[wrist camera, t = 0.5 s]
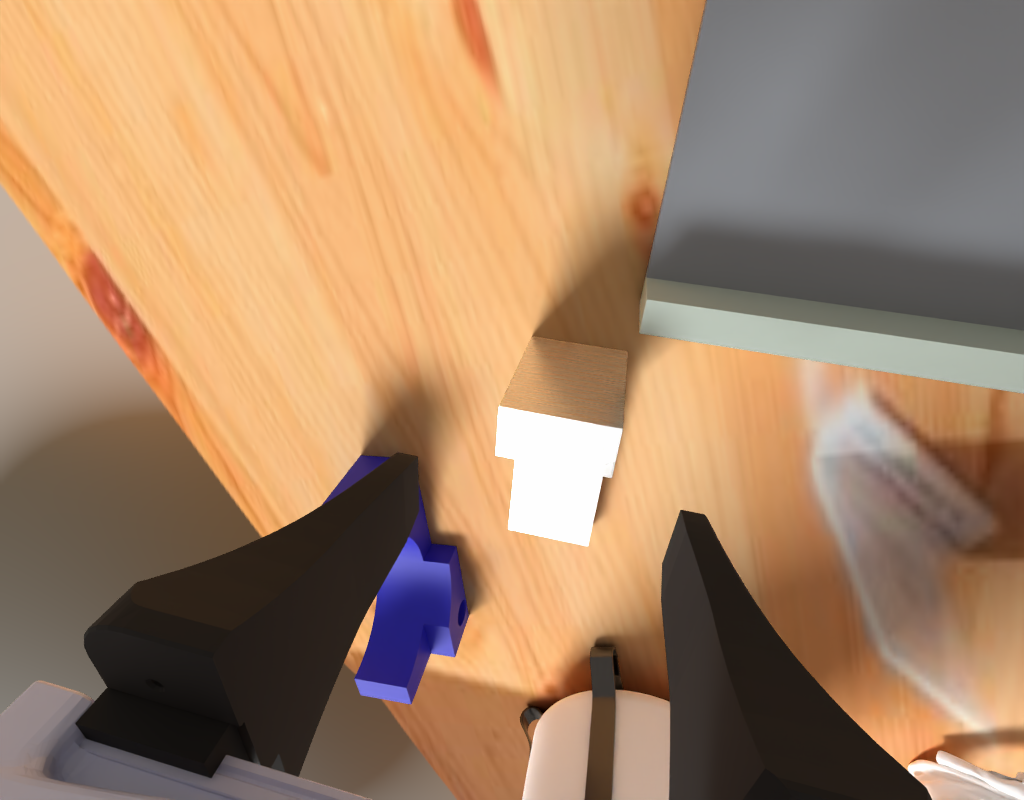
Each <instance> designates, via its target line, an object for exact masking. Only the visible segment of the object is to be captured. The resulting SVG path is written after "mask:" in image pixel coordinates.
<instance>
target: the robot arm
mask: <svg viewBox="0 0 1024 800" xmlns="http://www.w3.org/2000/svg"><path fill="white" fill-rule="evenodd" d="M418 513H419V478H418V457H417V456H412V455H408V454H403V453H396V454H395V455H393V456H392V457H390V458H389V459H388V460H386V461H385V462H383V463H382V464H381V465H379V466H378V467H377V468H375V469H374V470H373V471H371V472H370V473H368V474H367V475H366V476H364V477H363V478H362V479H360V480H359V481H357V482H356V483H355V484H353V485H352V486H350V487H349V488H347V489H346V490H345V491H343V492H342V493H340V494H339V495H337V496H336V497H334V498H333V499H331V500H330V501H328V502H326V503H325V504H323V505H322V506H320V507H318V508H317V509H315V510H314V511H312V512H311V513H309V514H307V515H305V516H304V517H302V518H300V519H298V520H297V521H295V522H293V523H291V524H289V525H287V526H285V527H283V528H281V529H279V530H278V531H276V532H273V533H271V534H269V535H267V536H265V537H263V538H260V539H258V540H256V541H254V542H251V543H249V544H247V545H245V546H243V547H240V548H238V549H236V550H233V551H231V552H228V553H226V554H223V555H221V556H218V557H216V558H213V559H210V560H207V561H205V562H202V563H199V564H196V565H193V566H190V567H187V568H184V569H181V570H178V571H174V572H171V573H167V574H164V575H161V576H157V577H154V578H151V579H148V580H144V581H140V582H137V583H136V584H134V585H133V586H132V587H131V588H130V589H129V590H128V591H127V592H126V593H125V594H124V595H123V596H122V597H121V598H119V599H118V600H117V601H116V602H115V603H114V604H113V605H112V606H111V607H110V608H109V609H108V610H107V611H106V612H105V613H104V614H103V615H102V616H101V617H100V618H99V619H98V620H97V621H96V622H95V623H93V624H92V626H90V627H89V628H88V630H87V631H86V632H85V634H84V647H85V649H86V652H87V654H88V656H89V658H90V659H91V661H92V663H93V664H94V666H95V667H96V669H97V671H98V672H99V674H100V676H101V677H102V679H103V681H104V682H105V684H106V686H107V687H108V688H107V689H106V690H105V691H104V692H103V693H102V694H101V695H100V696H99V698H98V699H97V700H96V701H94V700H93V699H92V698H90V697H88V696H87V695H85V694H83V693H81V692H78V691H75V690H72V689H68V688H65V687H62V686H58V685H55V684H52V683H48V682H45V681H41V680H40V681H35V682H34V683H33V684H32V685H31V686H30V687H29V688H28V689H27V690H25V692H24V693H22V694H21V695H20V696H19V697H18V698H17V699H16V700H15V701H14V702H13V703H12V704H11V705H10V706H9V707H8V708H7V709H6V710H5V711H4V712H3V713H2V714H1V715H0V800H372V799H369V798H365V797H362V796H359V795H356V794H353V793H349V792H346V791H343V790H339V789H336V788H333V787H330V786H326V785H323V784H320V783H317V782H313V781H310V780H307V779H304V778H300V777H299V774H300V771H301V769H302V766H303V763H304V760H305V758H306V755H307V753H308V750H309V747H310V744H311V742H312V739H313V737H314V734H315V731H316V728H317V726H318V724H319V721H320V719H321V716H322V714H323V711H324V708H325V706H326V704H327V701H328V699H329V696H330V694H331V691H332V689H333V687H334V684H335V682H336V679H337V677H338V675H339V672H340V670H341V668H342V665H343V663H344V661H345V658H346V656H347V654H348V651H349V649H350V647H351V645H352V642H353V640H354V638H355V636H356V633H357V631H358V629H359V627H360V625H361V623H362V621H363V619H364V617H365V615H366V613H367V611H368V609H369V607H370V606H371V604H372V602H373V600H374V599H375V597H376V595H377V593H378V592H379V590H380V588H381V586H382V585H383V583H384V581H385V579H386V578H387V576H388V574H389V572H390V571H391V569H392V567H393V565H394V564H395V562H396V560H397V558H398V556H399V555H400V553H401V551H402V549H403V547H404V546H405V544H406V542H407V540H408V537H409V535H410V533H411V530H412V528H413V525H414V523H415V520H416V518H417V515H418ZM661 603H662V615H663V626H664V637H665V647H666V658H667V668H668V679H669V693H670V769H669V800H932V798H931V796H930V794H929V792H928V790H927V788H926V787H925V786H924V785H923V784H922V783H921V782H920V781H918V780H917V779H916V778H915V777H914V776H913V775H912V774H911V773H909V772H908V771H907V770H906V769H905V768H904V767H903V766H902V765H901V764H899V763H898V762H897V761H896V760H895V759H894V758H893V757H892V756H890V755H889V754H888V753H887V752H886V751H885V750H884V749H883V748H882V747H880V746H879V745H878V744H877V743H876V742H875V741H874V740H873V739H872V738H871V737H870V736H869V735H868V734H867V733H866V732H865V731H864V730H863V729H862V728H861V727H860V726H859V725H858V724H857V723H856V722H855V721H854V720H853V719H852V718H851V717H850V716H849V715H848V714H847V713H846V712H845V711H844V710H843V709H842V708H841V707H840V706H839V705H838V704H837V703H836V702H835V701H834V700H833V699H832V698H831V697H830V696H829V694H828V693H827V692H826V691H825V690H824V689H823V688H822V687H821V686H820V684H819V683H818V682H817V681H816V680H815V679H814V678H813V677H812V676H811V674H810V673H809V672H808V671H807V670H806V669H805V668H804V666H803V665H802V664H801V663H800V662H799V661H798V659H797V658H796V657H795V656H794V655H793V653H792V652H791V651H790V649H789V648H788V647H787V646H786V644H785V643H784V642H783V640H782V639H781V638H780V637H779V635H778V634H777V633H776V631H775V630H774V628H773V627H772V626H771V624H770V623H769V621H768V620H767V619H766V617H765V616H764V614H763V613H762V611H761V610H760V608H759V607H758V605H757V604H756V602H755V601H754V599H753V598H752V596H751V595H750V593H749V592H748V590H747V588H746V587H745V585H744V583H743V582H742V580H741V578H740V577H739V575H738V573H737V572H736V570H735V568H734V567H733V565H732V563H731V562H730V560H729V558H728V556H727V554H726V553H725V551H724V549H723V547H722V545H721V543H720V541H719V540H718V538H717V536H716V534H715V532H714V530H713V528H712V526H711V524H710V522H709V520H708V518H707V517H706V516H705V515H704V514H699V513H694V512H689V511H684V510H680V513H679V516H678V519H677V522H676V525H675V528H674V531H673V534H672V537H671V540H670V543H669V546H668V549H667V551H666V554H665V557H664V560H663V563H662V589H661Z"/></svg>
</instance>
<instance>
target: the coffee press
mask: <svg viewBox="0 0 1024 800" xmlns="http://www.w3.org/2000/svg"><path fill="white" fill-rule="evenodd" d="M590 665H591V677H592V690H591V691H585V692H580V693H577V694H573V695H570V696H568V697H565V698H563V699H561V700H559V701H558V702H556V703H555V704H553V705H552V706H551V707H550V708H549V709H548V710H547V711H546V712H545V713H544V714H543V713H542V712H541V711H540V710H539V709H538V708H537V707H534V706H531V707H528V708H526V709H525V710H524V711H523V712H522V714H521V716H520V723H521V726H522V728H523V730H524V732H525V734H526V736H527V738H528V741H529V746H530V755H529V763H528V770H527V776H526V781H525V787H524V793H523V798H522V800H669V769H670V702H669V701H666V700H664V699H661V698H658V697H655V696H651V695H647V694H643V693H638V692H633V691H625V690H624V688H623V685H622V681H621V676H620V669H619V661H618V655H617V651H616V648H615V647H592V648H591V651H590ZM536 719H540V720H539V722H538V724H537V726H536V729H535V733H534V737H533V742H532V740H531V738H530V736H529V734H528V726H529V724H530V723H531V722H532V721H533V720H536Z"/></svg>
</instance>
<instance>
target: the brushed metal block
mask: <svg viewBox="0 0 1024 800" xmlns="http://www.w3.org/2000/svg"><path fill="white" fill-rule="evenodd" d="M627 356H628V351H623V350H617V349H610V348H604V347H598V346H591V345H585V344H579V343H573V342H566V341H560V340H554V339H547V338H541V337H535V336H532V337H531V339H530V341H529V343H528V346H527V348H526V350H525V352H524V354H523V356H522V358H521V361H520V363H519V365H518V367H517V369H516V371H515V373H514V375H513V378H512V380H511V382H510V384H509V386H508V388H507V390H506V393H505V395H504V397H503V399H502V401H501V403H500V405H499V413H498V427H497V441H496V456H501V457H506V458H511V459H515V467H514V477H513V487H512V498H511V508H510V518H509V529H510V530H514V531H519V532H524V533H528V534H533V535H537V536H542V537H547V538H551V539H556V540H560V541H565V542H569V543H574V544H579V545H583V546H588V544H589V539H590V535H591V530H592V525H593V521H594V516H595V512H596V507H597V502H598V498H599V493H600V488H601V484H602V479H603V477H608V478H612V475H613V470H614V466H615V462H616V457H617V453H618V448H619V444H620V440H621V435H622V431H623V420H624V404H625V388H626V372H627Z"/></svg>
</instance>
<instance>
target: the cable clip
mask: <svg viewBox="0 0 1024 800" xmlns="http://www.w3.org/2000/svg"><path fill="white" fill-rule="evenodd" d="M389 458H390V457H378V456H364V455H361V456H360V457H359V458H358V460H357V461H356V462H355V463H354V465H353V466H352V467H351V469H350V470H349V471H348V472H347V474H346V475H345V476H344V477H343V479H342V480H341V481H340V483H339V484H338V485H337V486H336V488H335V489H334V490H333V492H332V493H331V494H330V495H329V497H328V498H327V499H326V500H325V502H324V503H323V504H325V503H326V502H328V501H330V500H331V499H333V498H334V497H336V496H337V495H339V494H340V493H342V492H343V491H345V490H346V489H347V488H349V487H350V486H352V485H353V484H355V483H356V482H357V481H359V480H360V479H362V478H363V477H364V476H366V475H367V474H368V473H370V472H371V471H373V470H374V469H375V468H377V467H378V466H379V465H381V464H382V463H383V462H385V461H386V460H388V459H389ZM323 504H322V505H323ZM468 617H469V614H468V608H467V603H466V597H465V591H464V586H463V580H462V575H461V569H460V564H459V558H458V553H457V547H456V546H450V545H441V544H432V543H431V538H430V534H429V529H428V524H427V520H426V515H425V510H424V506H423V501H422V496H421V491H420V487H419V513H418V515H417V518H416V520H415V523H414V525H413V528H412V530H411V533H410V535H409V537H408V540H407V542H406V544H405V546H404V547H403V549H402V551H401V553H400V555H399V556H398V558H397V560H396V562H395V564H394V565H393V567H392V569H391V571H390V572H389V574H388V576H387V578H386V579H385V581H384V583H383V585H382V586H381V588H380V590H379V592H378V593H377V602H376V610H375V617H374V622H373V627H372V631H371V635H370V639H369V642H368V645H367V649H366V652H365V655H364V657H363V660H362V663H361V665H360V667H359V670H358V672H357V674H356V676H355V681H356V684H357V686H358V689H359V692H360V694H361V695H364V696H369V697H374V698H380V699H385V700H391V701H396V702H401V703H407V704H412V701H413V699H414V696H415V694H416V691H417V688H418V686H419V683H420V680H421V678H422V675H423V672H424V670H425V667H426V664H427V662H428V659H429V657H430V654H431V653H432V654H438V655H445V656H451V657H455V656H456V653H457V650H458V647H459V644H460V641H461V638H462V635H463V632H464V629H465V626H466V623H467V620H468Z"/></svg>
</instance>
